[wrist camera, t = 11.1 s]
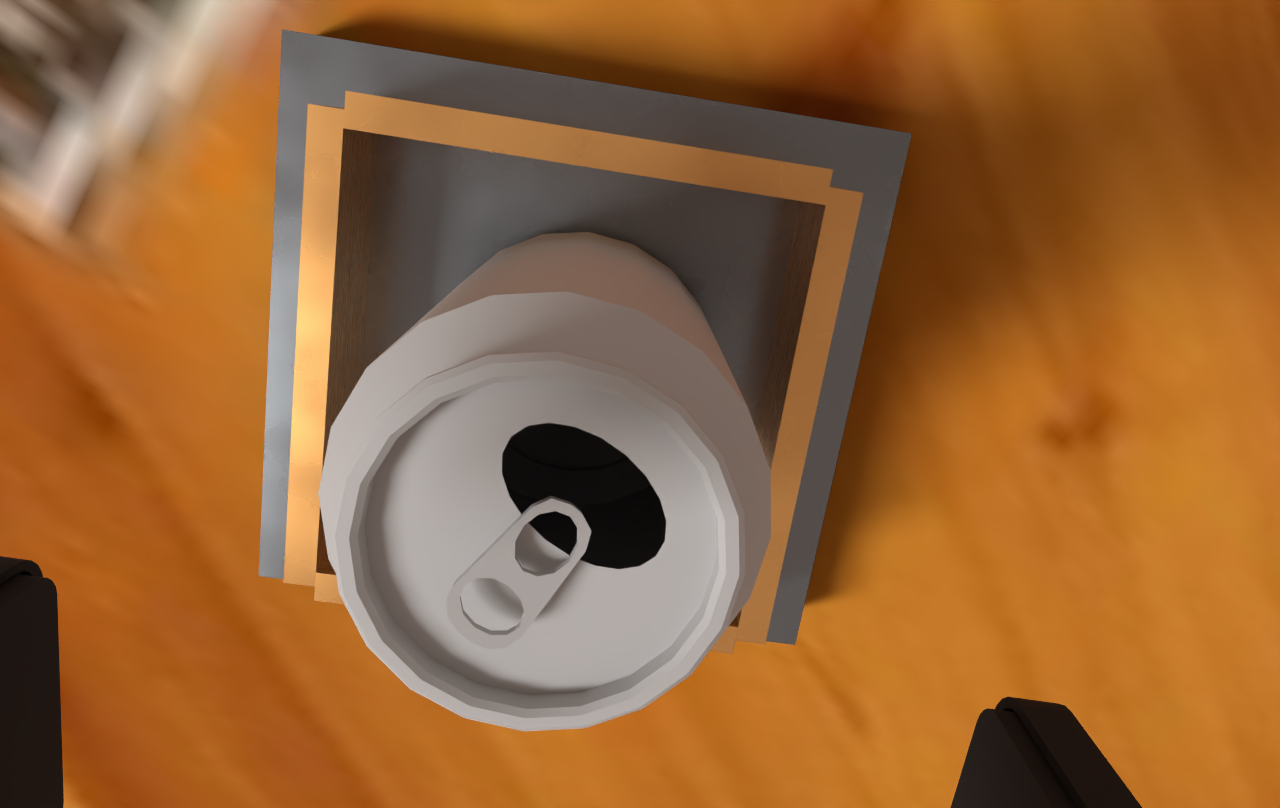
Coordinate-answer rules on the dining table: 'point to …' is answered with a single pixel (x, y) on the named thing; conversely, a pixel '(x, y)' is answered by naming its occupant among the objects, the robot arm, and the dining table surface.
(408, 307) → the open square box
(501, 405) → the can
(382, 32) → the dining table surface
